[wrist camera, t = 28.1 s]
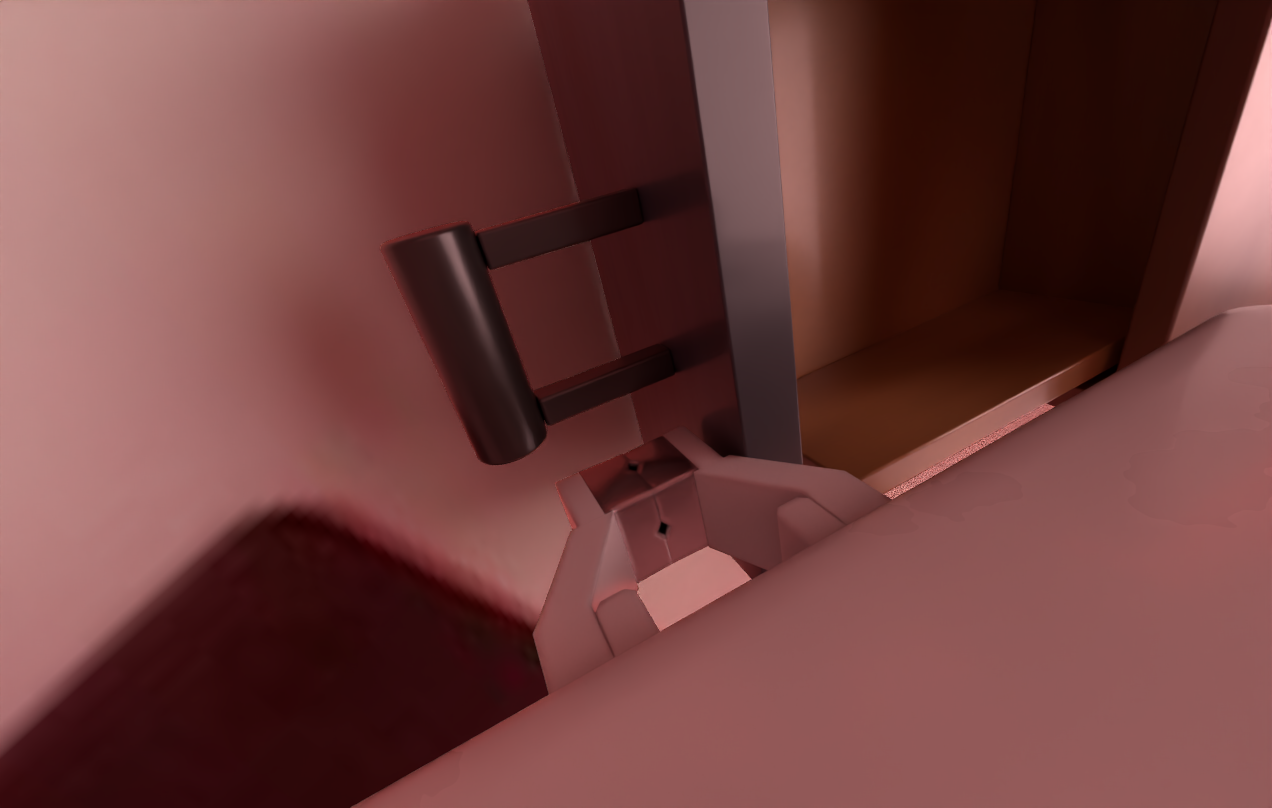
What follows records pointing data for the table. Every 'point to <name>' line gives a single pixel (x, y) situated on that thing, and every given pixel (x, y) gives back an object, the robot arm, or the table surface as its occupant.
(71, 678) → the table surface
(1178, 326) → the cabinet
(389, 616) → the table surface
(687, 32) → the drawer
